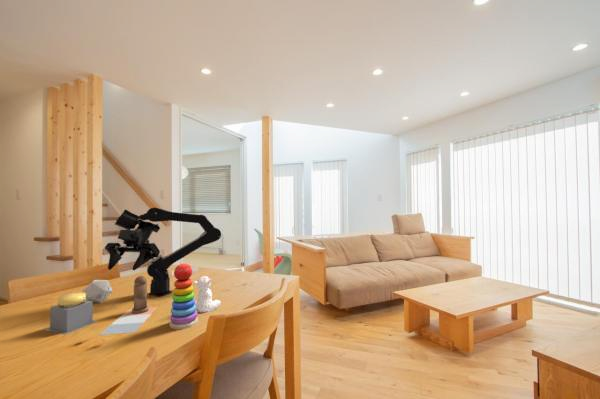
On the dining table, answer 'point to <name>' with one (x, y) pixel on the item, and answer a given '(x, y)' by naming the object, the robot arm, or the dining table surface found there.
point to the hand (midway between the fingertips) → (121, 269)
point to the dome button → (71, 299)
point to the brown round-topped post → (140, 295)
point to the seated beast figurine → (205, 296)
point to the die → (98, 291)
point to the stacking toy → (183, 299)
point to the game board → (128, 322)
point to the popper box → (70, 317)
